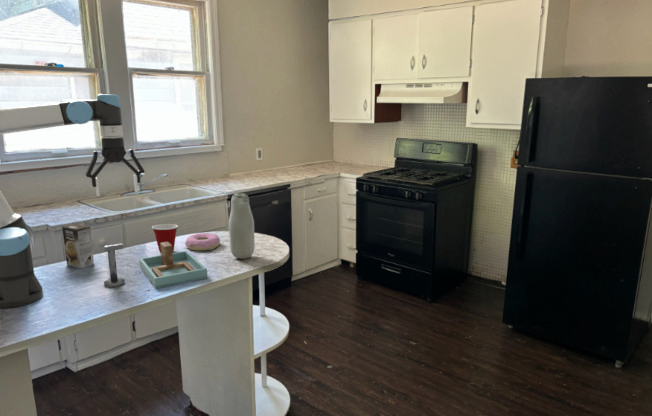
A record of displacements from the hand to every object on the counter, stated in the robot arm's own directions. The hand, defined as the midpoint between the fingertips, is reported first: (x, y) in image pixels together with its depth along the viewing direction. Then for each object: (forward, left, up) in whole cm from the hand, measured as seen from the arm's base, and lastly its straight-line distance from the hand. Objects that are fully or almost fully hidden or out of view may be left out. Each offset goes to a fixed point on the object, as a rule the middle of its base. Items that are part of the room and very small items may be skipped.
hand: (117, 193), depth 181 cm
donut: (+36, +13, -31) cm, 49 cm away
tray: (+15, -13, -31) cm, 37 cm away
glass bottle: (+45, -11, -31) cm, 56 cm away
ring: (+15, -13, -30) cm, 36 cm away
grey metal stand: (-6, -13, -31) cm, 34 cm away
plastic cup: (+20, +14, -31) cm, 39 cm away
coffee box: (-14, +16, -31) cm, 38 cm away
